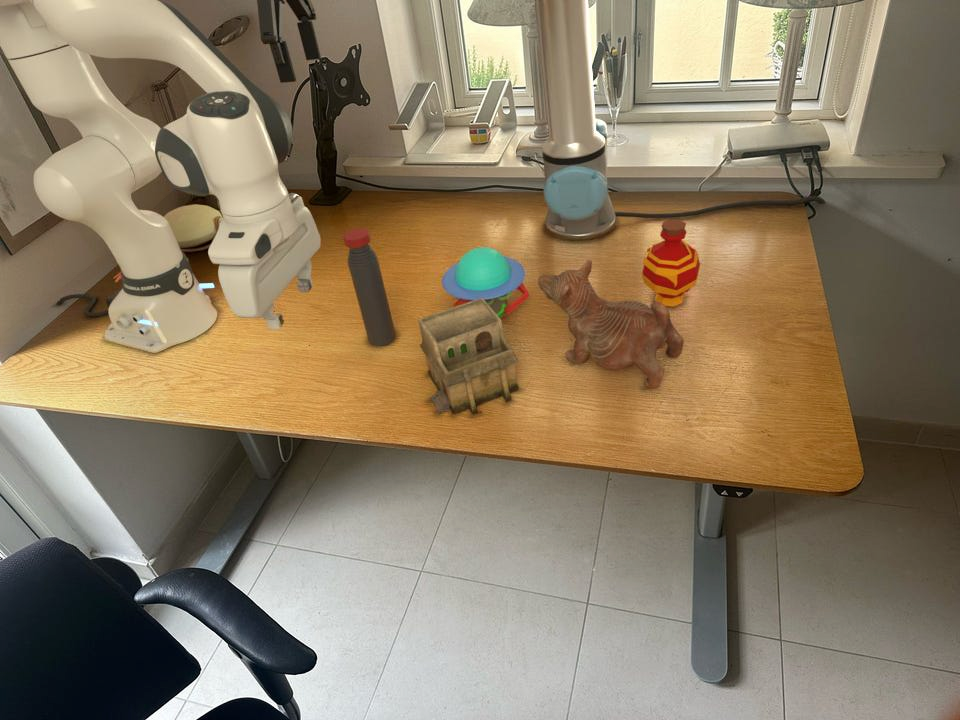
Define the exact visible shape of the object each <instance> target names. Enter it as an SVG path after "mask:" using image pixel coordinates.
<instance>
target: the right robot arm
mask: <svg viewBox="0 0 960 720" xmlns="http://www.w3.org/2000/svg"><path fill="white" fill-rule="evenodd" d="M533 1H534V9H535V19H536V30H537V39H538V49H539V58H540V66H541V67H540V68H541V76H542V87H543V94H544V104H545V114H546V123H547V132H548V134H547V135H548V137H547V139H546V140H545V142H543V144H542V146H541V152H542V162H543V164H542V165H543V173H544V185H543V189H542V190H543V191H542V192H543V196H544V201H545V204H546V206H547V207H548V209H547V213H546V216H545V229H546V232H547V233H548V234H549V236H550V235H551V236H552V237H553V238H556V239H558V240H561V241H567V242H586V241H587V242H588V241H594V240H597V239H600V238H604V237H605V236H607V235H608V234H610V233H611V232H613V230H614V229H615V227H616V223H617V218H616V217H619V218H620V217H624V218H625V217H626V218H641V219H642V218H643V219H674V218H675V219H676V218H684V217H693V216H698V215H703V214H706V213H711V212H716V211H721V210H727V209H733V208H741V207H750V206H794V205H800V204H804V203H808V202H813V201H815V202H817V203H818V204H822V205H823V204H826V203H827V202H826V201H825V199H823V198H822V197H821V196H818V195H811V196H810V195H809V196H805V197H802V198H798V199H788V200H787V199H785V200H784V199H783V200H781V199H780V200H779V199H778V200H776V199H774V200H773V199H770V200H769V199H766V200H765V199H763V200H761V199H759V200H748V201H739V202H732V203H726V204H725V203H724V204H719V205H713V206H709V207H705V208H700V209H696V210H690V211H689V210H688V211H682V212H681V211H680V212H670V213H669V212H666V213H663V212H662V213H661V212H659V213H655V212H654V213H653V212H652V213H648V212H647V213H646V212H633V211H632V212H629V211H615V209H614V205H613V204H612V200H611V198H610V195H609V185H608V137H609V133H608V126H607V123H606V122H605V121H604V120H601V119H600V118H596V113H595V111H596V110H595V99H594V78H593V68H592V67H593V66H592V65H593V64H592V49H591V34H590V20H589V19H590V18H589V17H590V16H589V2H588V1H589V0H533ZM256 3H257V4H256V5H257V13H258V24H259V34H260V35H259V36H260V41H261V42H262V44H263V45H269V48H270V51H271V54H272V58H273V61H274V64H275V68H276V72H277V75H278V79H279V83H280V84H284V83H294V82H296V81H297V78H296V77H297V76H296V74H295V70H294V66H293V62H292V58H291V56H290V51H289V48H288V44H287V41H286V40H284V39H283V38H284V34H283V33H284V32H283V31H284V5H285V4H287V5H288V6H289V8H290V10H291V11H292V12H293V14H294V15H295V17H296V18H297V20H298V22H297V23H296V25H297V29H298V33H299V37H300V41H301V44H302V49H303V53H304V56H305V60H306V61H314V60H321V59H322V56H321V53H320V47H319V44H318V43H319V42H318V40H317V36H316V32H315V27H314V23H313V21H316V20H317V14H316V11H315V7H314V5H313V3H312V0H256Z"/></svg>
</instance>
